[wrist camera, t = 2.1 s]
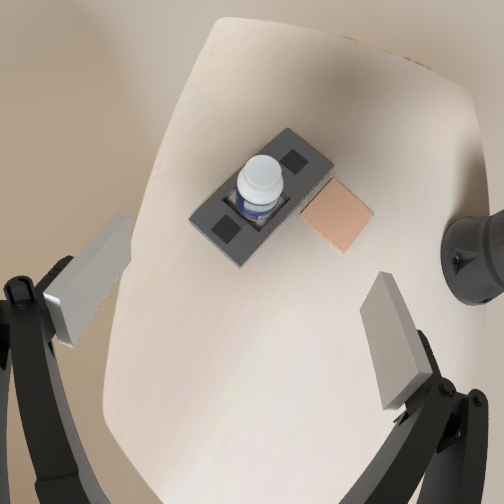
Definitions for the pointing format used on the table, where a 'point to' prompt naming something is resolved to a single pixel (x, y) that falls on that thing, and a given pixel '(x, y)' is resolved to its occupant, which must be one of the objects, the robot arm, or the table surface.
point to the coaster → (337, 215)
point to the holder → (294, 192)
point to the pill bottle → (259, 187)
